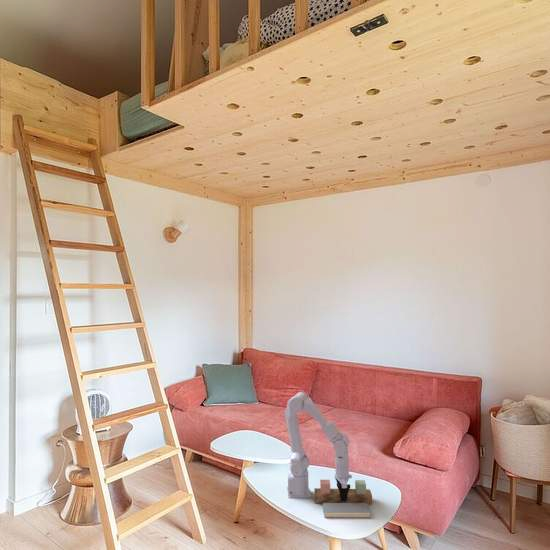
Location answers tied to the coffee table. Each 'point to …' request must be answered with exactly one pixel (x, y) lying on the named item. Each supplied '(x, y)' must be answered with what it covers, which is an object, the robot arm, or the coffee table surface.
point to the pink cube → (325, 486)
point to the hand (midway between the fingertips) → (342, 497)
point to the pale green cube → (360, 486)
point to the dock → (346, 510)
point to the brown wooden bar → (335, 498)
